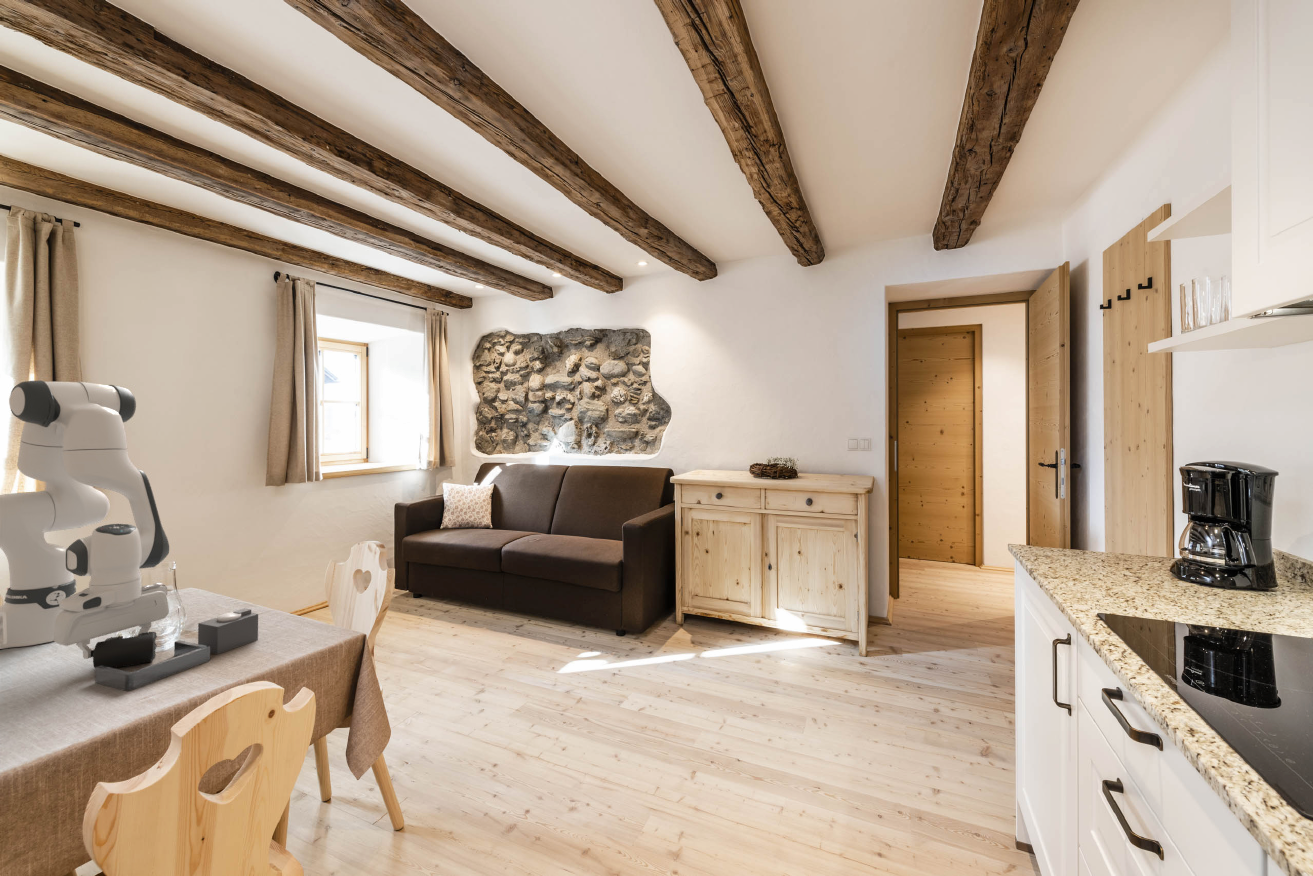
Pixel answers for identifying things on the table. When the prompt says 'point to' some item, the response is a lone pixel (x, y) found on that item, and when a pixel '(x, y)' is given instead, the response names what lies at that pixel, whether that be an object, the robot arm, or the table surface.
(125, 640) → the end cap
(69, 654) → the table surface
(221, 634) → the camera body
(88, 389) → the robot arm
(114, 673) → the tray
